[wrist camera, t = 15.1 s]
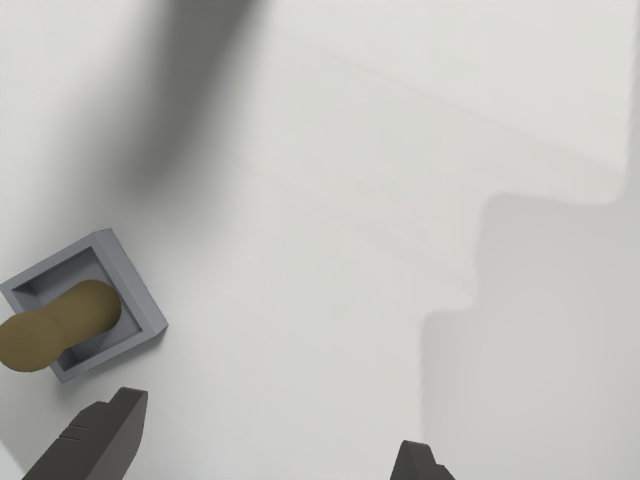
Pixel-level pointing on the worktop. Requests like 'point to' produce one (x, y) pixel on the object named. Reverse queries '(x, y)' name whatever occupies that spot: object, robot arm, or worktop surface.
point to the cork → (58, 326)
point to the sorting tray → (79, 265)
